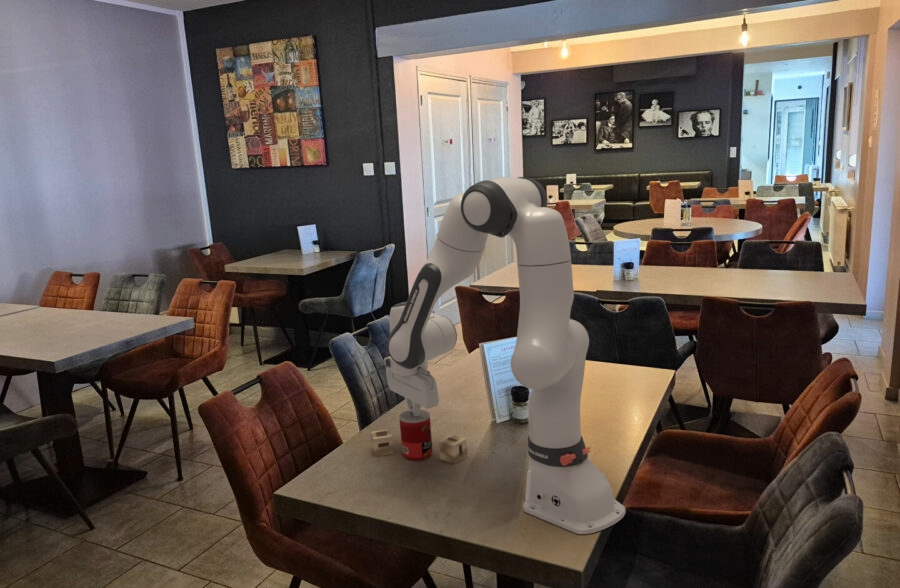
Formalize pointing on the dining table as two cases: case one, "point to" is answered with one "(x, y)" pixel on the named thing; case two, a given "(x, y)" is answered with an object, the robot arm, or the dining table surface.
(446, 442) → the marked cube near
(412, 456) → the canned food
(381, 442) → the marked cube far
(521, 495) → the dining table surface
